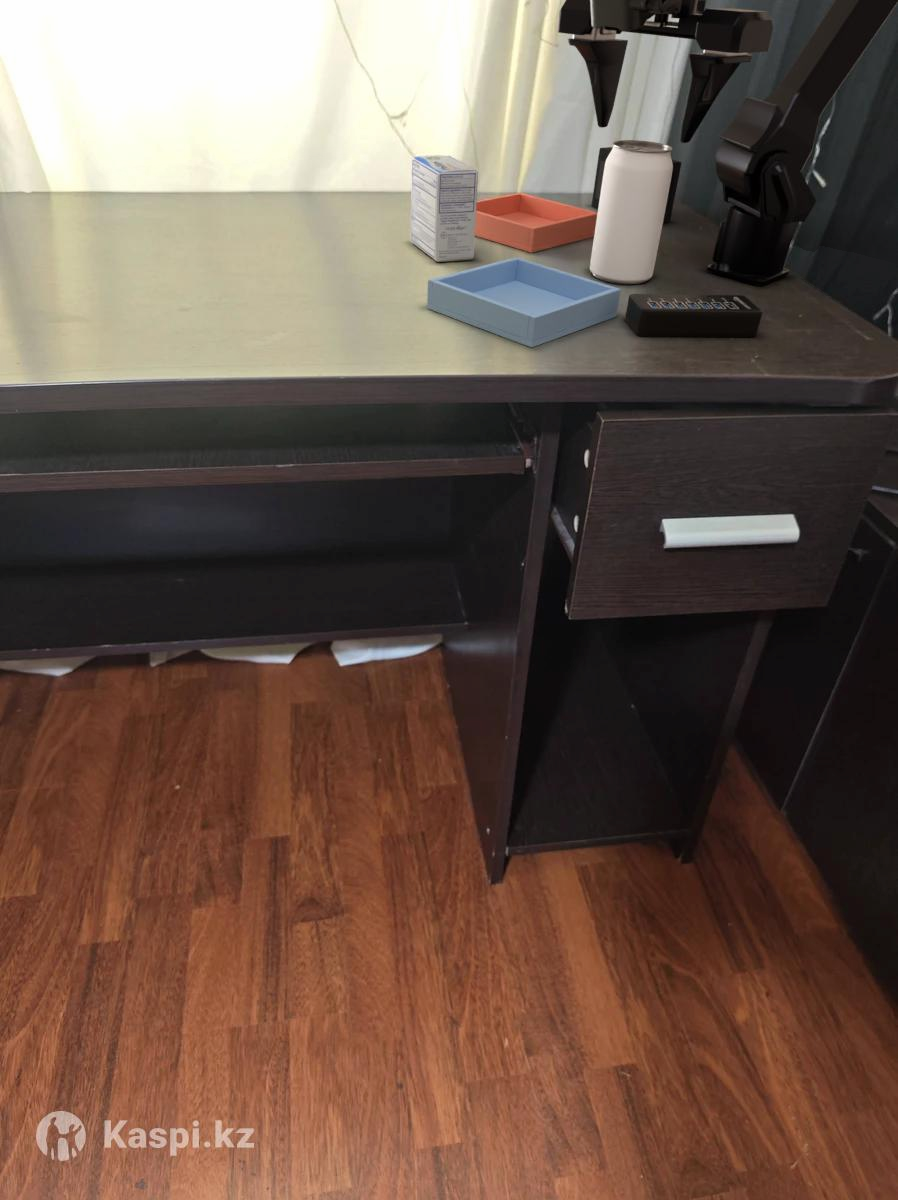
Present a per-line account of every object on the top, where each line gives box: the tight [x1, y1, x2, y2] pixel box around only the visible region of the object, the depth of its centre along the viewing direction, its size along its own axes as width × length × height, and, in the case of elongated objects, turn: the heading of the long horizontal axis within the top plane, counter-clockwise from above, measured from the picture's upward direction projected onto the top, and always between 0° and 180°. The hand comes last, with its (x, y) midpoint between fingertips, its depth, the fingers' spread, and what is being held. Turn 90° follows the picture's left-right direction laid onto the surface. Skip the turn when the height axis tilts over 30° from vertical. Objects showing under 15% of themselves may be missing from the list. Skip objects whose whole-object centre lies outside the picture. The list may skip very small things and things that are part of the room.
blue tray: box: [426, 256, 622, 348], centre depth 76 cm, size 12×12×2 cm
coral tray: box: [475, 192, 598, 254], centre depth 99 cm, size 12×12×2 cm
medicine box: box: [410, 154, 479, 263], centre depth 89 cm, size 8×4×9 cm, turn 22°
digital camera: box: [591, 146, 682, 224], centre depth 107 cm, size 10×5×7 cm, turn 33°
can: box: [589, 139, 673, 285], centre depth 84 cm, size 6×6×12 cm
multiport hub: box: [624, 293, 764, 338], centre depth 75 cm, size 4×11×2 cm, turn 97°
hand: (642, 134), depth 80 cm, fingers open, 9 cm apart
